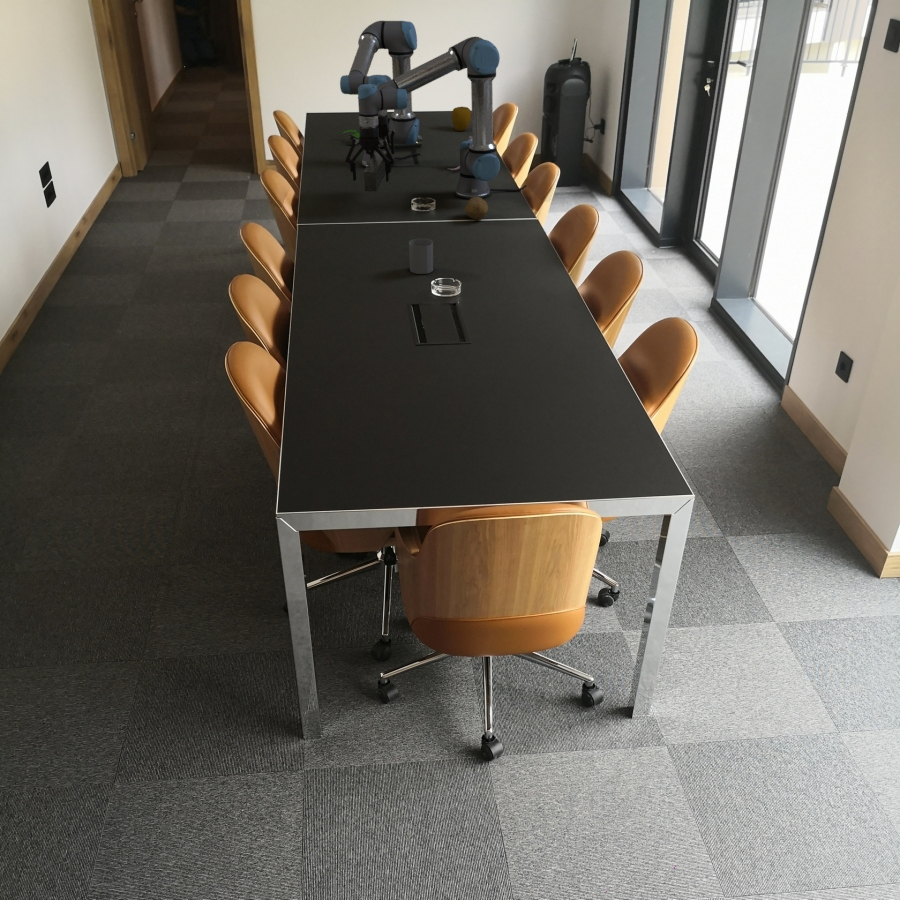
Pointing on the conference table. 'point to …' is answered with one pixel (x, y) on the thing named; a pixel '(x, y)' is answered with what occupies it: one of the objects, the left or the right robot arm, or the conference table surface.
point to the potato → (476, 208)
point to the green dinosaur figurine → (352, 135)
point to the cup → (421, 256)
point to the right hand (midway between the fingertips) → (371, 180)
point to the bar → (374, 172)
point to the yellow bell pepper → (461, 118)
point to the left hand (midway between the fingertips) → (381, 170)
